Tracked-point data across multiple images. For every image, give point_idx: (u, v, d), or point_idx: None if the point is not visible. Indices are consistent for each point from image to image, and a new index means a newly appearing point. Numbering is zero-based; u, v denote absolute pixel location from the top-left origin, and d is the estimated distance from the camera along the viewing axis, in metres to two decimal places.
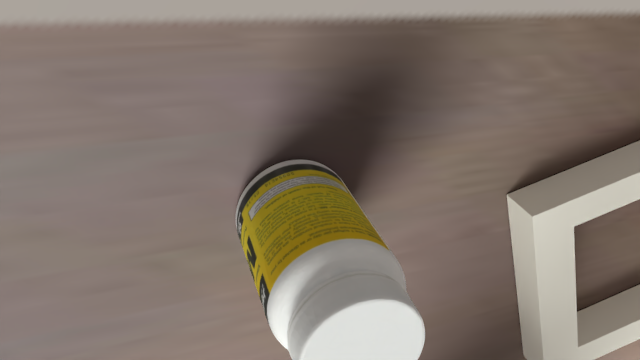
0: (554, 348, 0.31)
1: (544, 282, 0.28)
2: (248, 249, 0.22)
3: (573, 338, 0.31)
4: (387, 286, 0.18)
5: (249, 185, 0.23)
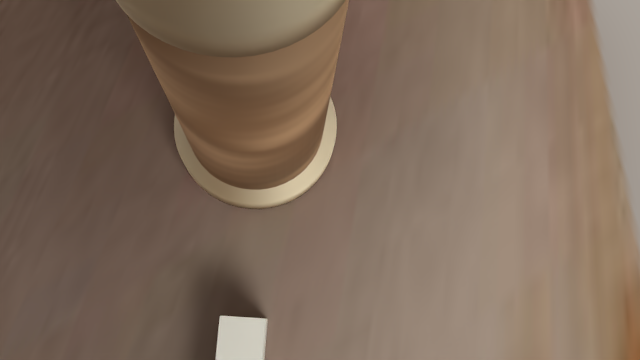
0: None
1: None
2: None
3: None
4: None
5: None
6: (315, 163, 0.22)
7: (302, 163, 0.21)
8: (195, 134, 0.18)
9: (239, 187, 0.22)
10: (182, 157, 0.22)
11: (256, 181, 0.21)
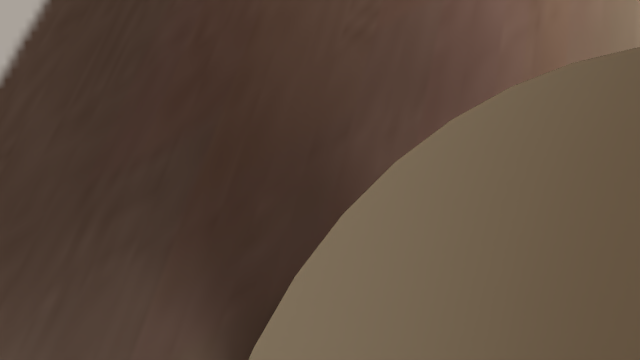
0: None
1: None
2: None
3: None
4: None
5: None
6: None
7: None
8: None
9: None
10: None
11: None
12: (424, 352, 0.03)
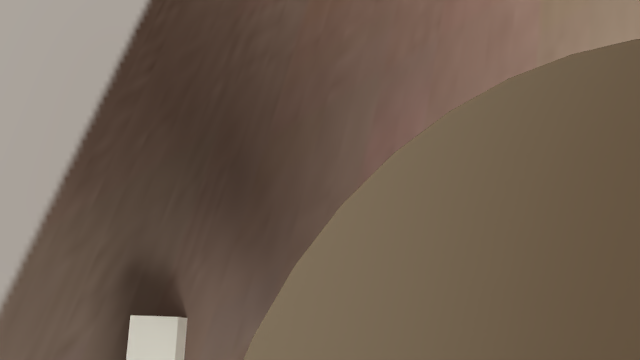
0: None
1: None
2: None
3: None
4: None
5: None
6: None
7: None
8: None
9: None
10: None
11: None
12: (423, 340, 0.03)
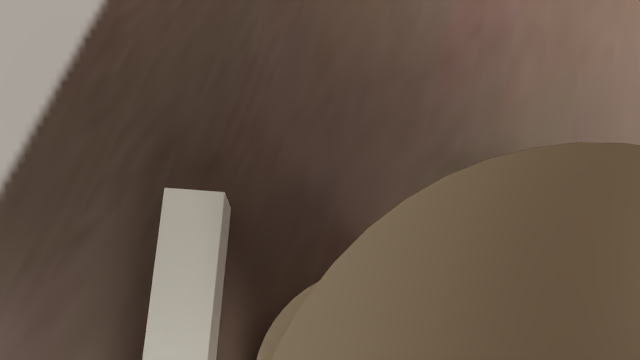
0: None
1: None
2: None
3: None
4: None
5: None
6: None
7: None
8: None
9: None
10: None
11: None
12: (384, 355, 0.04)
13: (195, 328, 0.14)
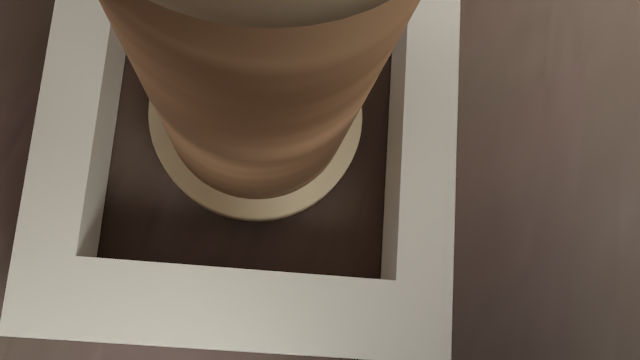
0: (367, 331, 0.15)
1: (174, 330, 0.15)
2: None
3: (364, 288, 0.16)
4: None
5: None
6: (334, 165, 0.17)
7: (321, 167, 0.16)
8: (181, 134, 0.12)
9: (235, 196, 0.17)
10: (159, 154, 0.17)
11: (260, 191, 0.16)
12: None
13: (94, 39, 0.16)
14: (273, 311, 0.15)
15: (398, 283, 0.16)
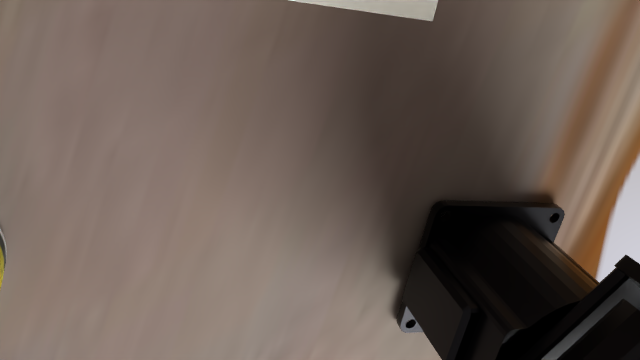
0: None
1: None
2: None
3: None
4: None
5: None
6: None
7: None
8: None
9: None
10: None
11: None
12: None
13: None
14: None
15: None
